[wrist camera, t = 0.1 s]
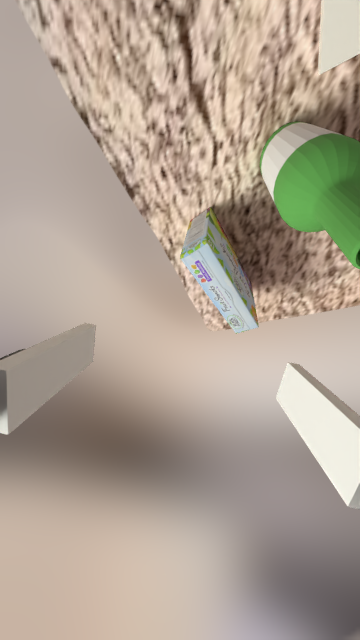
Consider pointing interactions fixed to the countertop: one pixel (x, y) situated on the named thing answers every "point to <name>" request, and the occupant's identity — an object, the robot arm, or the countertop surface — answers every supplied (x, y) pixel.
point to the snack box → (219, 271)
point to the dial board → (338, 32)
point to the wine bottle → (316, 182)
